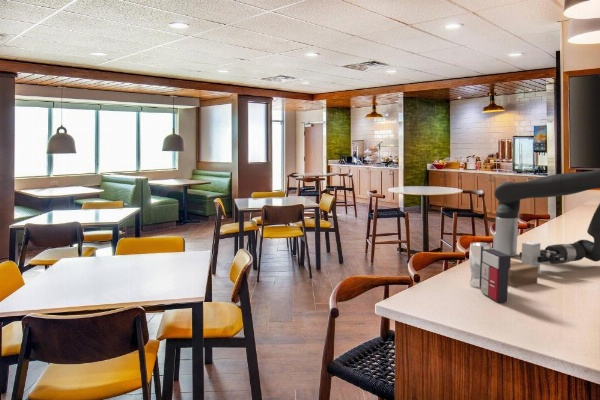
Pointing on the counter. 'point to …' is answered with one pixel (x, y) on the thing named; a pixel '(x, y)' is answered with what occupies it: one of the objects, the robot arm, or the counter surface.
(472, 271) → the beer glass
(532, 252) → the skincare box
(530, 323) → the counter surface
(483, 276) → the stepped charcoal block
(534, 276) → the walnut block
